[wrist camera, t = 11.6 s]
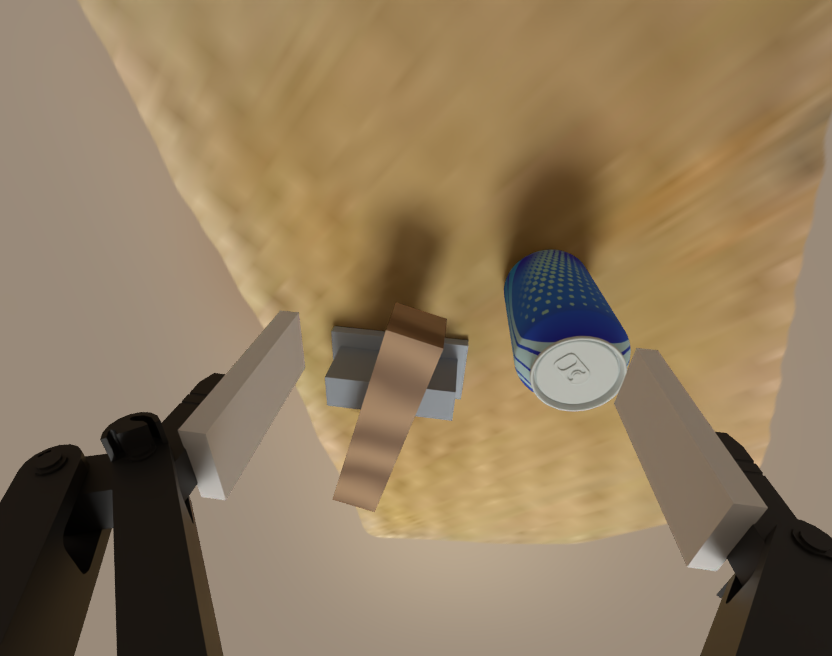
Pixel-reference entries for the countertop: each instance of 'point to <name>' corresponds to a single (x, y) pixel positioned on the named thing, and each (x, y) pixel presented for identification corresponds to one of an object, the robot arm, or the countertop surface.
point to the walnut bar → (390, 403)
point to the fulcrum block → (357, 363)
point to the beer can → (564, 332)
